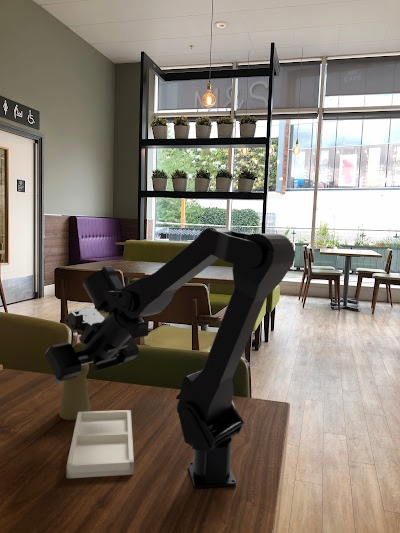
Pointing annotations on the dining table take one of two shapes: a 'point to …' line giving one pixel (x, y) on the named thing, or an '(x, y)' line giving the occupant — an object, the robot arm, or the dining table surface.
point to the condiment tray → (101, 445)
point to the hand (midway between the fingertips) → (75, 375)
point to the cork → (75, 396)
